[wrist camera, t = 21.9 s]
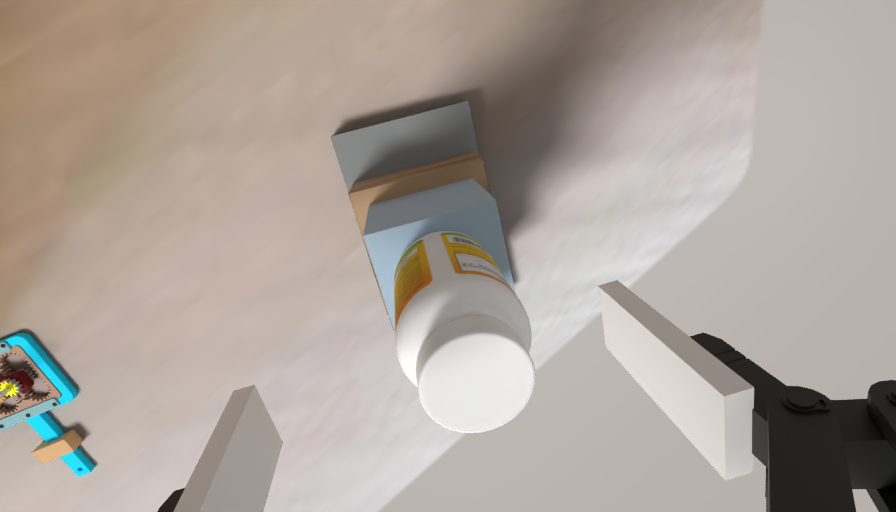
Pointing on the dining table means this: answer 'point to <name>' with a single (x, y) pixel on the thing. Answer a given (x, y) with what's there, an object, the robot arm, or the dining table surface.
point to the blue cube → (432, 228)
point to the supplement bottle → (461, 333)
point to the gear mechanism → (39, 402)
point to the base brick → (414, 184)
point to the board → (405, 142)
